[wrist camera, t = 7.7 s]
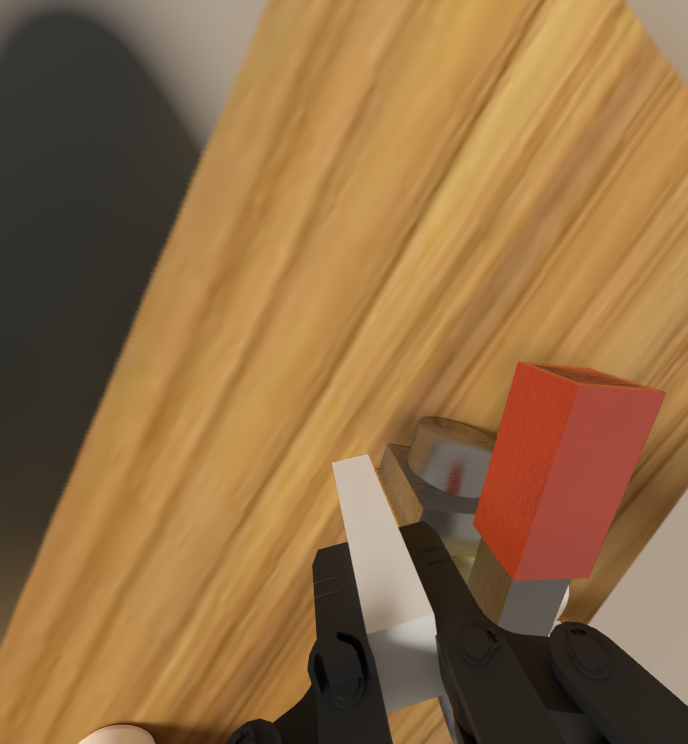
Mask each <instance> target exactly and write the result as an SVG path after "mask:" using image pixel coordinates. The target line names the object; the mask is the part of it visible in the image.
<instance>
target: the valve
mask: <svg viewBox="0 0 688 744" xmlns="http://www.w3.org/2000/svg"><path fill="white" fill-rule="evenodd" d="M494 446H495V441H494V440H493V439H491V438H490V437H488V436H487V435H485V434H483V433H482V432H480V431H478V430H476V429H474V428H472V427H469V426H467V425H464V424H462V423H459V422H456V421H452V420H449V419H444V418H439V417H424V418H422V419H420V420H419V423H418V426H417V429H416V432H415V435H414V438H413V441H412V444H411V447H405V446H399V445H392V444H387V447H386V450H385V453H384V457H383V460H382V463H381V466H380V469H375V473H376V475H377V478H378V480H379V482H380V485H381V487H382V490H383V492H384V494H385V497H386V499H387V502H388V504H389V507H390V509H391V511H392V514H393V516H394V519H395V521H396V523H397V526H398V527H401V526H405V525H409V524H412V523H416V522H420V521H425V522H426V523H427V524H429V525H430V526H431V527H432V528H434V529H435V530H436V531H437V533H438V534H439V536H440V538H441V540H442V542H443V543H444V546H445V548H446V549H447V551H448V552H449V554H450V556H451V559H452V560H453V561H454V563H455V565H456V567H457V568H458V570H459V572H460V574H461V576H462V577H463V579H464V581H465V583H466V584H468V581H469V577H470V574H471V570H472V567H473V563H474V560H475V556H476V553H477V550H478V546H479V543H480V539H481V535H480V534H479V532H478V531H477V530H476V528H475V527H474V525H473V521H474V518H475V514H476V511H477V507H478V503H479V500H480V496H481V493H482V489H483V485H484V482H485V478H486V475H487V471H488V467H489V464H490V460H491V457H492V453H493V449H494Z"/></svg>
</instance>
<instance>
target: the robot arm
mask: <svg viewBox="0 0 688 744" xmlns="http://www.w3.org/2000/svg"><path fill="white" fill-rule="evenodd" d="M332 465H333V470H334V475H335V480H336V485H337V490H338V495H339V500H340V505H341V510H342V515H343V519H344V524H345V529H346V534H347V539H348V542H345V543H342V544H338V545H334V546H331V547H327V548H323V549H319V550H318V551H317V554H316V557H315V560H314V562H313V565H312V568H313V583H314V597H315V616H316V633H317V640H316V641H315V644H314V646H313V648H312V650H311V652H310V654H309V661H308V669H307V670H308V673H309V677H310V680H311V683H312V684H311V686H310V688H309V690H308V691H307V693H306V694H305V696H304V697H303V698H302V699H301V700H300V701H299V702H298V703H297V704H296V705H295V706H294V707H293V708H291V709H290V710H289V711H287V712H286V713H285V714H284V715H282V716H281V717H280V718H278V719H277V720H276V721H275V722H273V723H271V722H269V721H266V720H263V719H256V720H252V721H249V722H246V723H245V724H244V725H242V726H241V727H240V728H238V729H237V730H236V731H234V733H233V734H232V735H231V737H230V738H229V739H228V741H227V742H226V743H225V744H393V742H392V737H391V733H390V728H389V723H388V718H387V714H386V713H388V712H391V711H394V710H397V709H400V708H403V707H406V706H410V705H413V704H416V703H419V702H422V701H425V700H428V699H432V698H435V697H438V696H441V695H444V694H445V692H444V687H445V690H446V693H447V695H448V698H449V701H450V704H451V706H452V709H453V717H454V725H455V733H456V739H457V744H688V706H687V705H685V704H684V703H683V702H682V701H681V700H680V699H679V698H678V697H676V696H675V695H674V694H673V693H672V692H671V691H670V690H668V689H667V688H666V687H665V686H663V684H661V683H660V682H659V681H658V680H657V679H656V678H655V677H653V676H652V675H651V674H650V673H649V672H648V671H646V670H645V669H644V668H643V667H642V666H641V665H640V664H638V663H637V662H636V661H635V660H634V659H633V658H632V657H630V656H629V655H628V654H627V653H626V652H625V651H623V650H622V649H621V648H620V647H619V646H618V645H617V644H615V643H614V642H613V641H612V640H611V639H610V638H608V637H607V636H605V635H604V634H602V633H601V632H599V631H598V630H597V629H595V628H593V627H590V626H588V625H585V624H583V623H580V622H567V621H566V622H564V623H561V624H558V625H556V626H555V627H554V629H553V630H552V632H551V633H550V637H548V636H536V635H524V634H518V633H513V632H510V631H507V630H505V629H503V628H501V627H499V626H498V625H496V624H495V623H493V622H492V621H491V620H490V619H489V618H488V617H487V616H486V615H485V614H484V613H483V612H482V610H481V609H480V607H479V606H478V604H477V602H476V601H475V599H474V597H473V595H472V593H471V592H470V590H469V588H468V586H467V584H466V583H465V581H464V579H463V577H462V576H461V574H460V572H459V570H458V568H457V567H456V565H455V563H454V561H453V560H452V559H451V556H450V554H449V552H448V551H447V549H446V548H445V546H444V543H443V542H442V540H441V538H440V536H439V534H438V533H437V531H436V530H435V529H434V528H432V527H431V526H430V525H429V524H427V523H426V522H425V521H420V522H416V523H412V524H409V525H405V526H401V527H398V526H397V523H396V521H395V519H394V516H393V514H392V511H391V509H390V507H389V504H388V502H387V499H386V497H385V494H384V492H383V490H382V487H381V485H380V482H379V480H378V478H377V475H376V473H375V470H374V468H373V466H372V463H371V461H370V458H369V456H368V454H367V455H362V456H358V457H354V458H350V459H346V460H342V461H338V462H334V463H332Z"/></svg>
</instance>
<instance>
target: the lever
mask: <svg viewBox="0 0 688 744" xmlns="http://www.w3.org/2000/svg"><path fill="white" fill-rule="evenodd" d="M665 395H666V392H663V391H660V390H657V389H654V388H651V387H648V386H644V385H641V384H638V383H635V382H632V381H628V380H625V379H622V378H619V377H616V376H613V375H609V374H606V373H603V372H600V371H597V370H594V369H590V368H581V367H571V366H560V365H549V364H538V363H527V362H518V363H517V367H516V370H515V374H514V378H513V381H512V385H511V388H510V392H509V396H508V399H507V403H506V406H505V410H504V414H503V417H502V421H501V424H500V428H499V432H498V435H497V439H496V442H495V446H494V449H493V453H492V457H491V460H490V464H489V467H488V471H487V475H486V478H485V482H484V485H483V489H482V493H481V496H480V500H479V503H478V507H477V511H476V514H475V518H474V521H473V525H474V527H475V528H476V530H477V531H478V532H479V534H480V535H481V539H480V543H479V546H478V550H477V553H476V556H475V560H474V563H473V567H472V570H471V574H470V577H469V581H468V584H467V586H468V588H469V590H470V592H471V593H472V595H473V597H474V599H475V601H476V602H477V604H478V606H479V607H480V609H481V610H482V612H483V613H484V614H485V615H486V616H487V617H488V618H489V619H490V620H491V621H492V622H493V623H495V624H496V625H498V626H499V627H501V628H503V629H505V630H507V631H510V632H513V633H518V634H524V635H536V636H548V635H549V633H550V630H551V628H552V625H553V623H554V620H555V618H556V615H557V613H558V610H559V608H560V605H561V603H562V600H563V598H564V595H565V593H566V590H567V588H568V585H569V583H570V580H571V579H572V578H589V576H590V573H591V571H592V569H593V566H594V564H595V561H596V559H597V557H598V554H599V552H600V550H601V547H602V545H603V542H604V540H605V538H606V535H607V533H608V531H609V528H610V526H611V523H612V521H613V519H614V516H615V514H616V511H617V509H618V507H619V504H620V502H621V500H622V497H623V495H624V492H625V490H626V488H627V485H628V483H629V480H630V478H631V476H632V473H633V471H634V469H635V466H636V464H637V461H638V459H639V457H640V454H641V452H642V450H643V447H644V445H645V442H646V440H647V438H648V435H649V433H650V430H651V428H652V426H653V423H654V421H655V419H656V416H657V414H658V411H659V409H660V407H661V404H662V402H663V399H664V397H665ZM444 692H445V694H444V695H441V696H438V700H439V703H440V706H441V709H442V712H443V715H444V718H445V721H446V724H447V727H448V730H449V733H450V736H451V738H452V741H453V742H454V744H457V739H456V733H455V725H454V717H453V709H452V706H451V704H450V701H449V698H448V695H447V693H446V690H445V687H444Z"/></svg>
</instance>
